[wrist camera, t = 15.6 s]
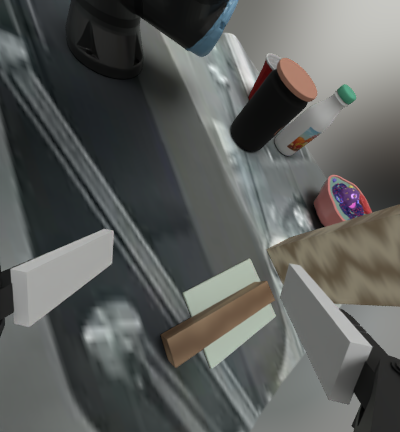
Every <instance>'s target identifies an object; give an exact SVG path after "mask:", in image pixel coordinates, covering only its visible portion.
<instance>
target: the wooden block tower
mask: <svg viewBox="0 0 400 432" xmlns="http://www.w3.org/2000/svg"><path fill="white" fill-rule="evenodd" d="M267 251H268V253H269V256H270V258H271V260H272V262H273V264H274V266H275V268H276V271H277V273H278V275H279V277H280V279H281V281H282V283H283V285H284V281H285V277H286V274H287V270H288V266H289V263H290V264H295V265H300V266H301V267H302V268H303V269H304V270H305V271H306V272H307V273H308V275H309V276H310V277H311V278H312V279H313V280H314V281H315V282H316V284H317V285H318V286H319V287H320V288H321V289H322V290H323V292H324V293H325V294H326V295H327V296H328V297H329V298H330V299H331V301H332V302H333V303H334V304H356V305H377V306H379V305H380V306H400V205H396V206H393V207H390V208H386V209H383V210H380V211H377V212H373V213H370V214H366V215H363V216H360V217H356V218H353V219H350V220H346V221H343V222H340V223H336V224H333V225H330V226H326V227H323V228H320V229H316V230H313V231H310V232H306V233H303V234H300V235H297V236H293V237H290V238H288V239H286V240H284V241H282V242H280V243H278V244H276V245H274V246H272V247H270V248H268V249H267Z"/></svg>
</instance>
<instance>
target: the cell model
mask: <svg viewBox="0 0 400 432" xmlns="http://www.w3.org/2000/svg"><path fill="white" fill-rule="evenodd" d="M314 207H315V209H316V212H317V215H318V218H319V220H320V222H321V223H322V224H323V225H324V226H325V227H326V226H330V225H333V224H336V223H340V222H343V221H346V220H350V219H353V218H356V217H360V216H363V215H366V214H370V213H372V211H371V209H370V206H369V204H368V202H367V200H366V198H365V197H364V195H363V194H362V193H361V191H360V190H359V188H358V187H357V186H356V185H355V184H353V183H351V182H349V181H347V180H345V179H343V178H342V177H340V176H337V175H331V176H330V177H329V178H328V179H327V180H326V182H325V183H324V184H323V186H322V188H321V190H320V192H319V193H318V195H317V197H316V199H315V200H314Z"/></svg>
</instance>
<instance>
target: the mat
mask: <svg viewBox="0 0 400 432" xmlns="http://www.w3.org/2000/svg"><path fill="white" fill-rule="evenodd" d="M253 282H260V279H259V277H258V275H257V273H256V270H255V268H254V266H253V264H252V262H251V259H247V260H245V261H243V262H241V263H239V264H237V265H236V266H234V267H232V268H230V269H228V270H226V271H224V272H222V273H220V274H218V275H216V276H214V277H212V278H210V279H208V280H206V281H204V282H203V283H201V284H199V285H197V286H195V287H193V288H191V289H189V290H187V291H185V292H183V293H182V294H183V296H184V299H185V302H186V305H187V307H188V310H189V313H190V315H191V317H193V316H195V315H196V314H198V313H200V312H202V311H204V310H205V309H207V308H209V307H211V306H212V305H214V304H216V303H218V302H220V301H221V300H223V299H225V298H227V297H228V296H230V295H232V294H234V293H236V292H237V291H239V290H241V289H243V288H244V287H246V286H248V285H250V284H252V283H253ZM274 317H276V315H275V313H274V311H273V308H272V306H271V304H268V305H267V306H265V307H264V308H262V309H261V310H260V311H258V312H257V313H255V314H254V315H252V316H251V317H249V318H248V319H246V320H245V321H244V322H242V323H241V324H239V325H238V326H236V327H235V328H233V329H232V330H230V331H229V332H227V333H226V334H225V335H223V336H222V337H220V338H219V339H217V340H216V341H214V342H213V343H211V344H210V345H209V346H207V347H206V348H204V349H203V351H204V353H205V356H206V359H207V361H208V364H209V367H210V368H211V369H213V368H214V367H215V366H216V365H217V364H219V363H220V362H221V361H222V360H224V359H225V358H226V357H227V356H228V355H230V354H231V353H232V352H233V351H234V350H236V349H237V348H238V347H239V346H240V345H242V344H243V343H244V342H245V341H247V340H248V339H249V338H250V337H251V336H253V335H254V334H255V333H256V332H257V331H259V330H260V329H261V328H262V327H263V326H265V325H266V324H267V323H268V322H270V321H271V320H272V319H273V318H274Z"/></svg>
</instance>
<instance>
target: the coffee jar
mask: <svg viewBox="0 0 400 432" xmlns="http://www.w3.org/2000/svg"><path fill="white" fill-rule="evenodd" d="M316 96H317V90H316V87H315V85H314V83H313V81H312V79H311V78H310V77H309V75H308V74H307V73H306V72H305V70H304V69H303V68H301V67H300V66H299V65H298V64H297V63H295V62H294V61H292V60H290V59H288V58H282V59H280V61H279V62H278V64H277V68H276V69H274V70H273V71H271V72H270V74H269V75H268V76H267V78H266V79H265V80H264V82H263V83H262V84H261V86H260V87H259V88H258V90H257V91H256V92H255V94H254V95H253V96H252V98H251V99H250V100H249V102H248V103H247V104H246V106H245V107H244V108H243V110H242V111H241V112H240V114H239V115H238V116H237V118H236V119H235V120H234V121H233V124H232V129H231V133H232V137H233V139H234V140H235V142H236V143H237V144H238V145H239V146H240V147H241V148H242V149H244V150H246V151H257V150H260V149H261V148H262V147H263V146H264V145H265V144H266V143H267V142H268V141H269V140H271V139H272V138H273V137H274V136H275V135H276V134H277V133H278V132H279V131H280V130H281V129H282V128H284V127H285V126H286V125H287V124H288V123H289V122H290V121H291V120H292V119H293V118H294V117H295V116H297V114H299V113H300V112H301V111H302V110H303V109H304V108H305V107H306V105H307V103H308V102H310V101H312V100H314V99H315V97H316Z"/></svg>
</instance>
